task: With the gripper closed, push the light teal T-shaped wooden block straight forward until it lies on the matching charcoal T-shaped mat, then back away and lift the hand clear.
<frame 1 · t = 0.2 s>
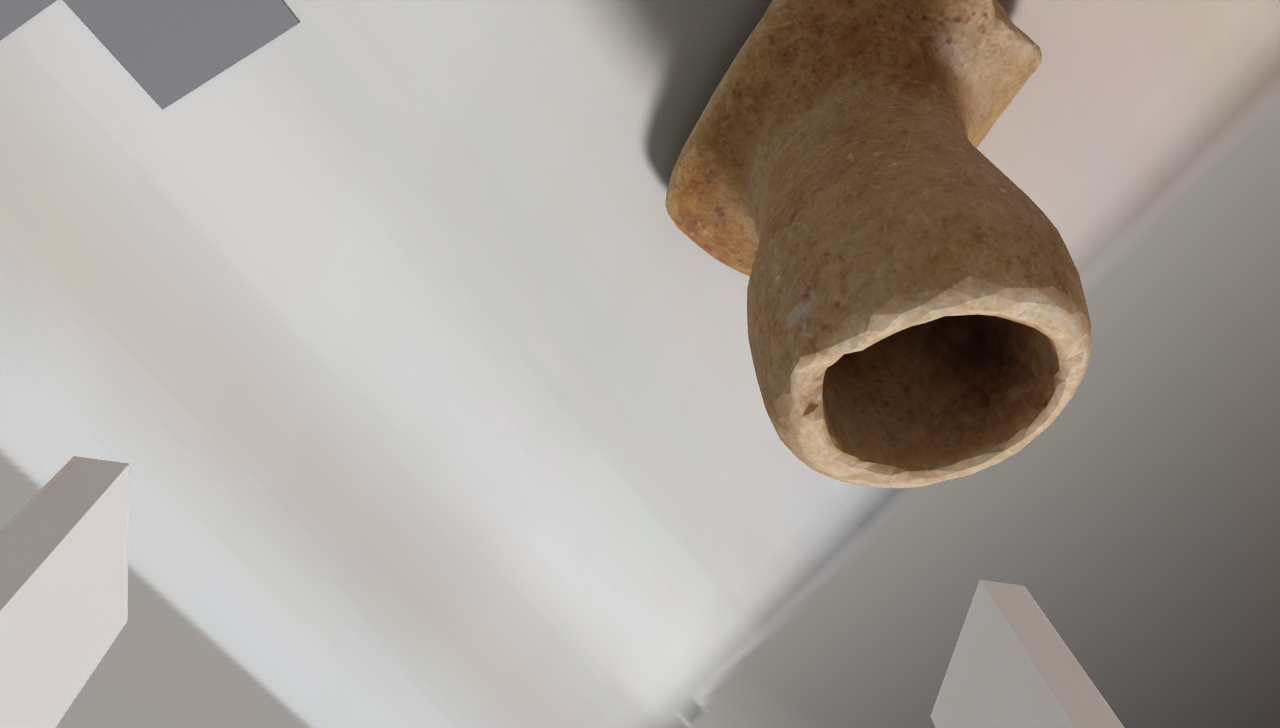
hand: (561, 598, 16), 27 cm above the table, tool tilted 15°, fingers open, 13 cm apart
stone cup: (858, 113, 40), on the table
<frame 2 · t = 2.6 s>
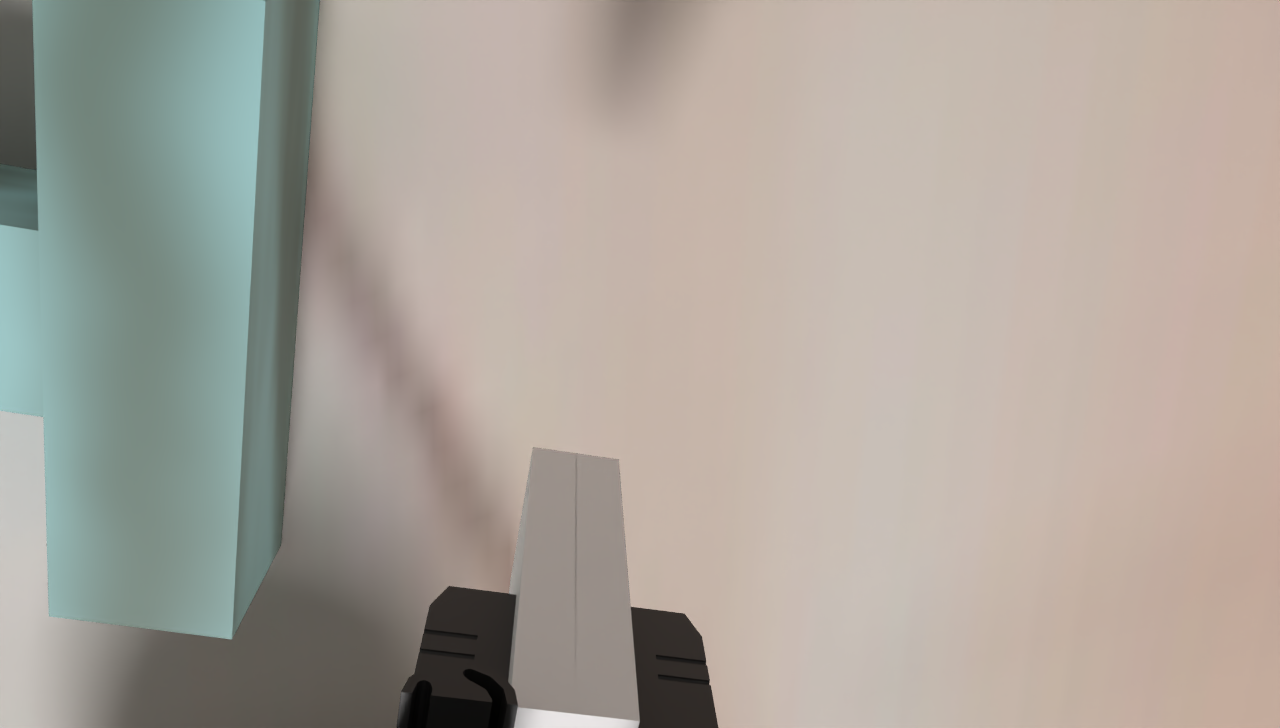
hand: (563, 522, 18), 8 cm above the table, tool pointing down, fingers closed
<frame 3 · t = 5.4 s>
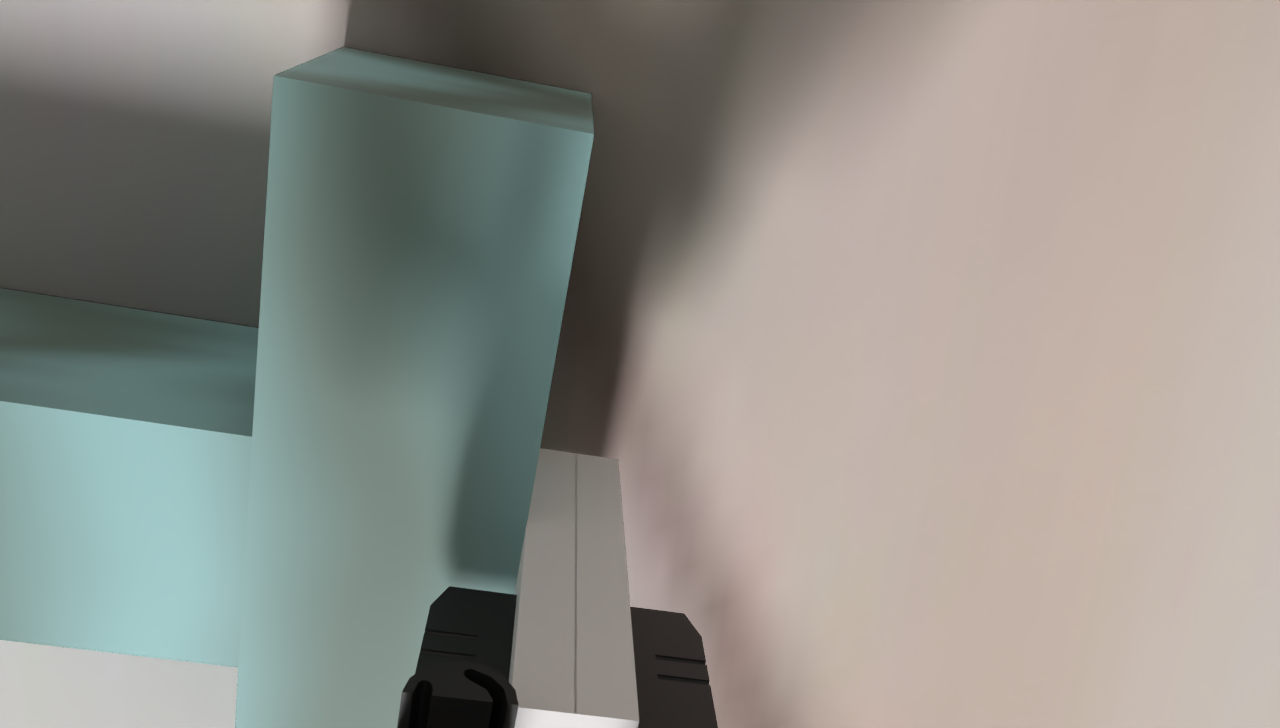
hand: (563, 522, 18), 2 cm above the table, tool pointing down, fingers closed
t block: (140, 413, 19), on the table, touching gripper
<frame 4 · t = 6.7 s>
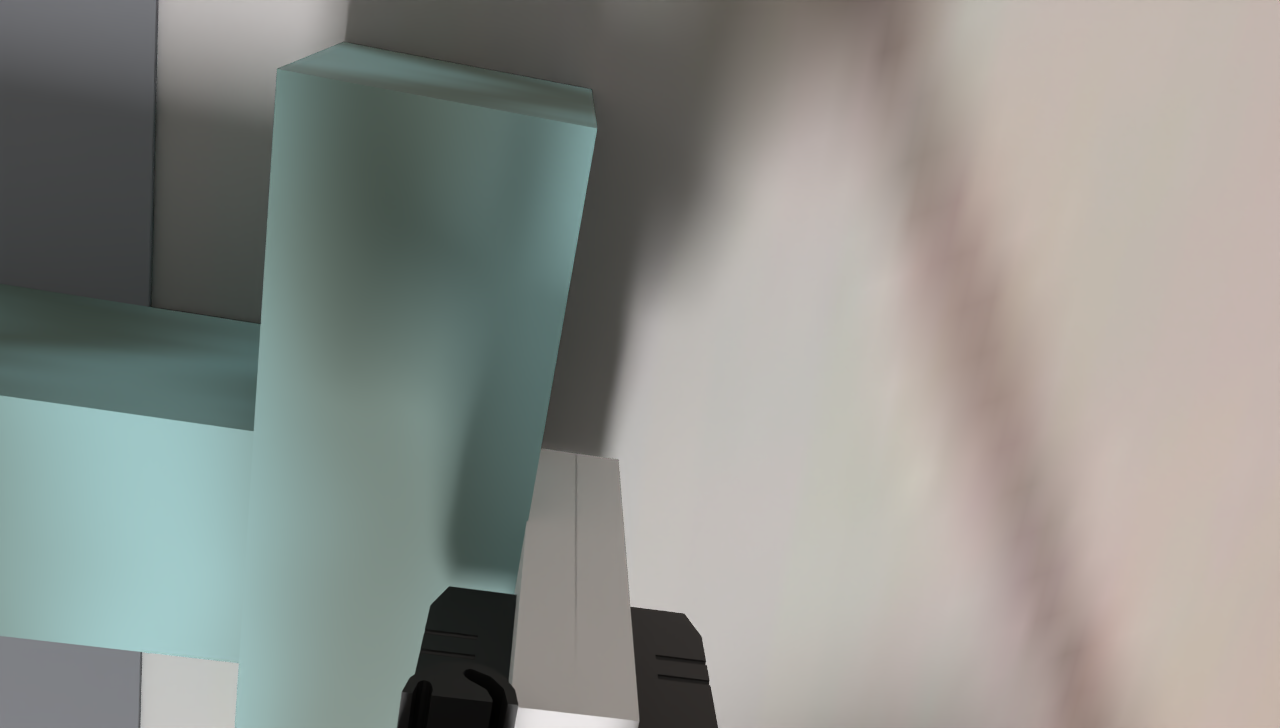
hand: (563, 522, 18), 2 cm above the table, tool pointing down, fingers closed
t block: (139, 409, 18), on the table, touching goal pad, gripper
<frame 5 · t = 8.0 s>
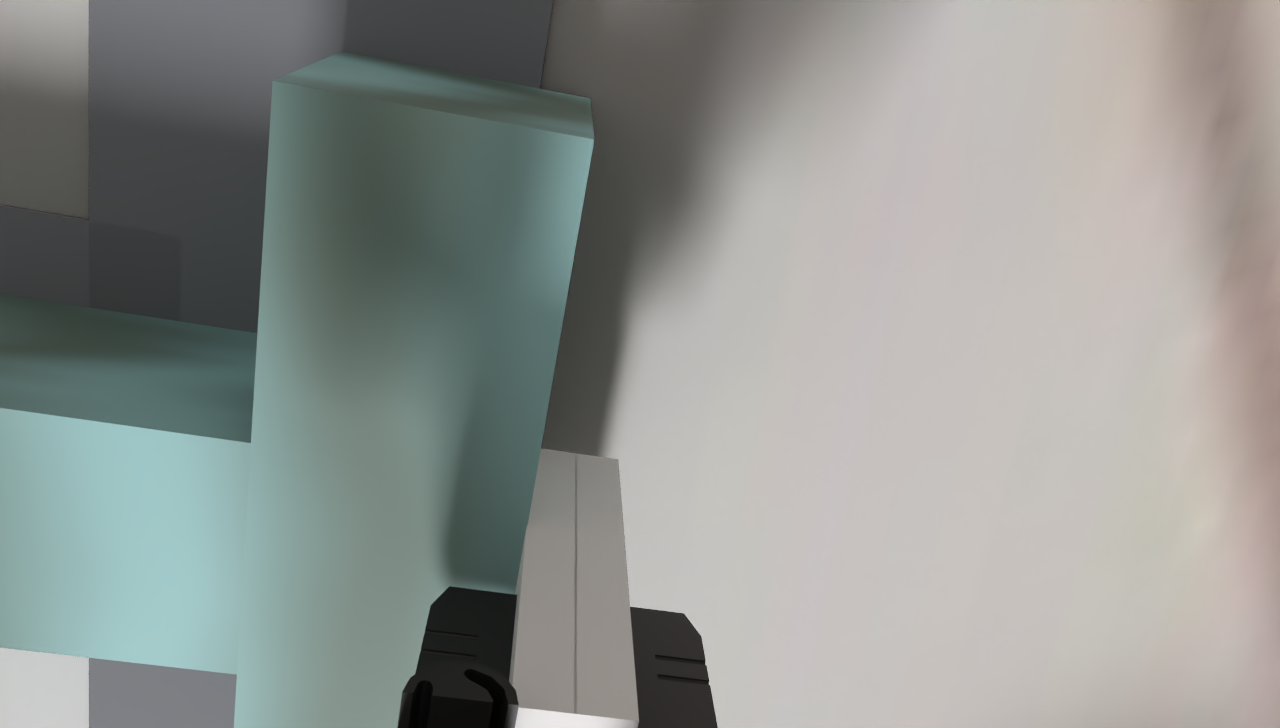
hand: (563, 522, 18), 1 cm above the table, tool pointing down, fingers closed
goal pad: (1, 396, 18), on the table
t block: (138, 419, 18), on the table, touching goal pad, gripper
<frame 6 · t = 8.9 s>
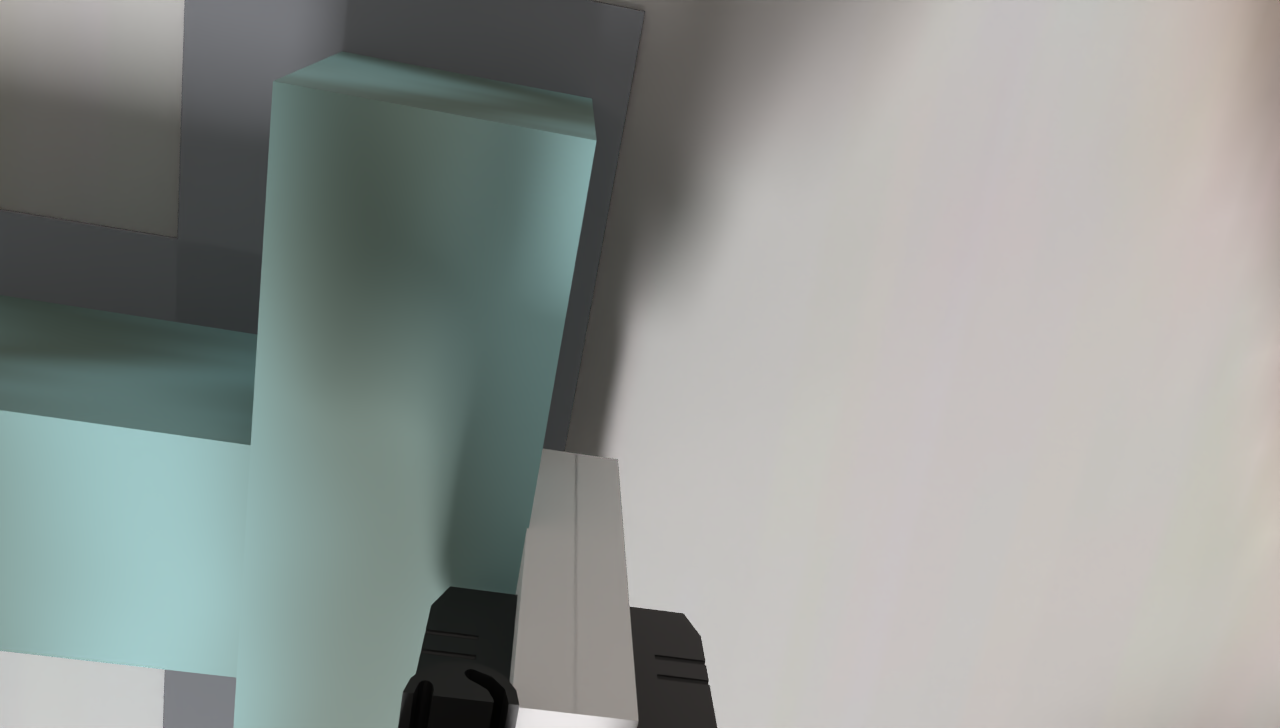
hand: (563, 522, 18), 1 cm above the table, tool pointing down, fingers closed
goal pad: (85, 413, 18), on the table
t block: (137, 420, 18), on the table, touching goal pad, gripper
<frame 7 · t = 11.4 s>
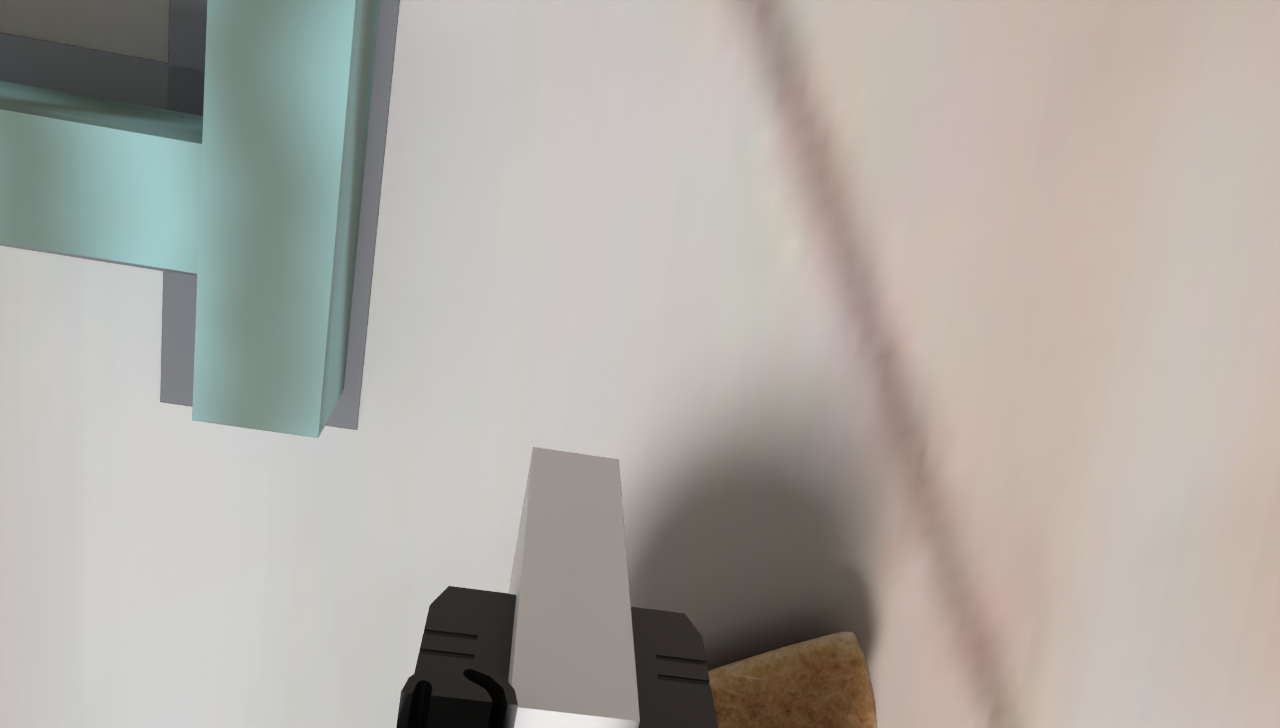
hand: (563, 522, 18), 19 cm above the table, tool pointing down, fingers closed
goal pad: (119, 162, 34), on the table
t block: (147, 167, 34), on the table, touching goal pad
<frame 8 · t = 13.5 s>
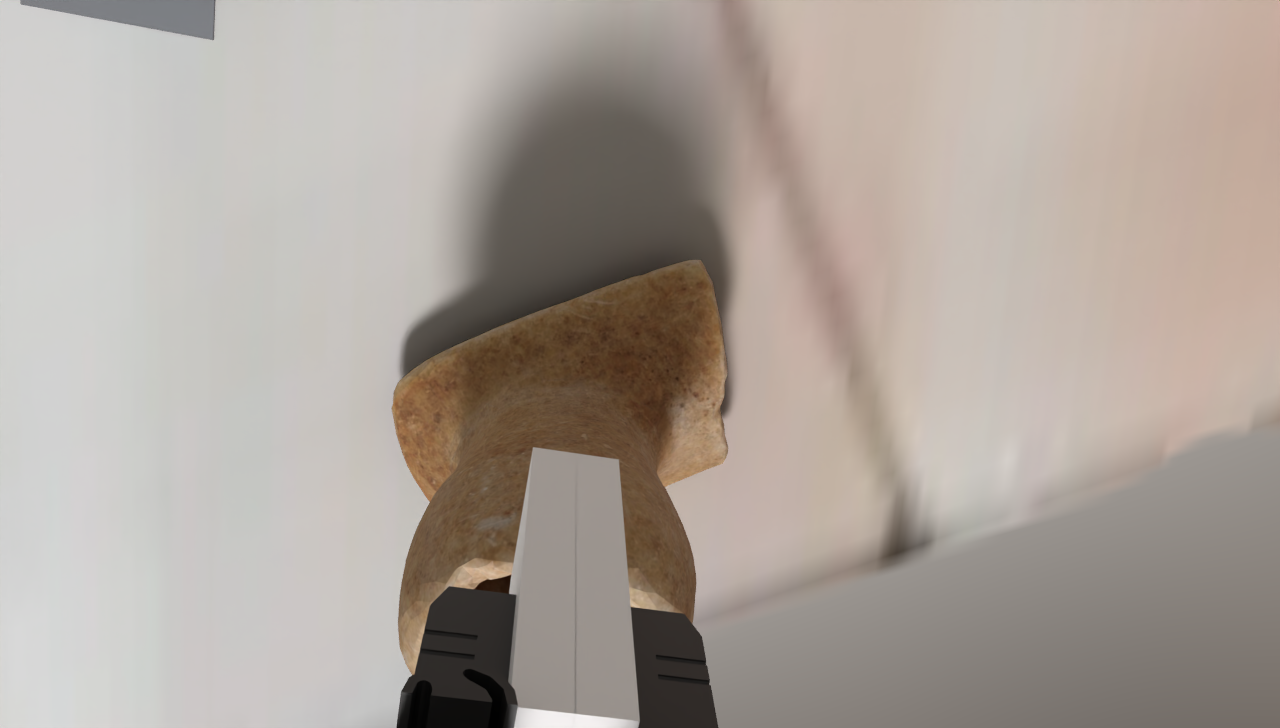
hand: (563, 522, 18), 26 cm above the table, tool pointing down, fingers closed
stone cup: (579, 416, 47), on the table
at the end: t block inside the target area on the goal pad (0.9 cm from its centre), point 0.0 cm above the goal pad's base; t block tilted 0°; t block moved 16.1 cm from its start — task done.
